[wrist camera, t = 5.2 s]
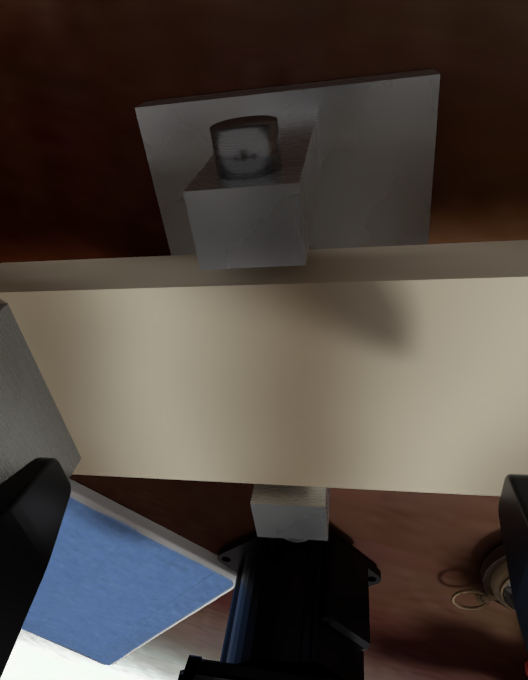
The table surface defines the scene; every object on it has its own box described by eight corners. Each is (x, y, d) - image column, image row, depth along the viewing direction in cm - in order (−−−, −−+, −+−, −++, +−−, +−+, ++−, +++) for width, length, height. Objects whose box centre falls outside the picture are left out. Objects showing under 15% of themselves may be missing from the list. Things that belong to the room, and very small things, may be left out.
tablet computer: (116, 653, 40) (109, 671, 38) (-35, 587, 37) (-47, 605, 35) (251, 562, 29) (247, 584, 28) (56, 459, 26) (43, 479, 25)
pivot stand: (215, 394, 21) (164, 546, 15) (143, 89, 14) (9, 158, 9) (413, 394, 19) (438, 564, 14) (435, 55, 13) (502, 112, 7)
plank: (-88, 430, 17) (-163, 504, 14) (-203, 271, 13) (-327, 335, 11) (839, 461, 12) (962, 585, 9) (1031, 218, 8) (1303, 314, 6)
